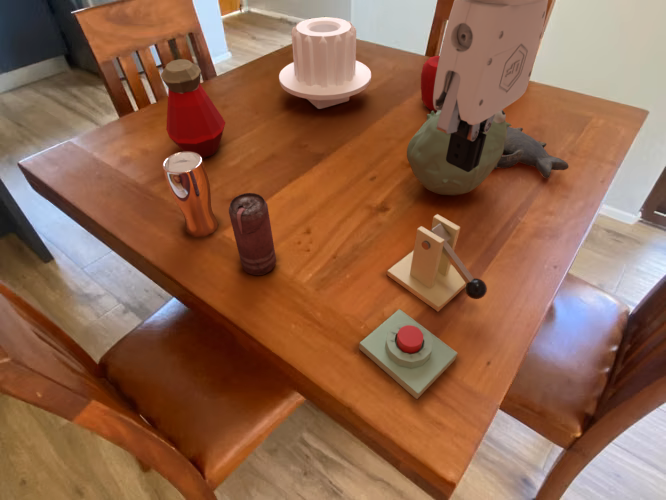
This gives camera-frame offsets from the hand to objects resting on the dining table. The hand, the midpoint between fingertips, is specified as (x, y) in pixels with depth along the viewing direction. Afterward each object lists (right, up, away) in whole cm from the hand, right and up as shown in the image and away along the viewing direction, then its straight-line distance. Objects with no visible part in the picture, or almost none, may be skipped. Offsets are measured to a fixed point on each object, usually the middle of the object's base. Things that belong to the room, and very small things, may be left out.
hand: (461, 163), depth 48 cm
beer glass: (-40, -5, +37) cm, 55 cm away
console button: (-3, -23, +14) cm, 27 cm away
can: (-27, -12, +30) cm, 42 cm away
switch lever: (+4, -12, +21) cm, 24 cm away
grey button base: (-3, -25, +16) cm, 30 cm away
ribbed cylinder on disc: (-16, +33, +75) cm, 83 cm away
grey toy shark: (+25, +12, +52) cm, 59 cm away
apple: (+14, +30, +70) cm, 77 cm away
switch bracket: (+2, -14, +27) cm, 30 cm away
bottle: (-46, +15, +57) cm, 75 cm away
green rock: (+10, +3, +44) cm, 46 cm away
